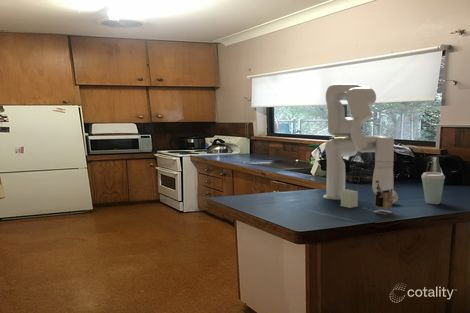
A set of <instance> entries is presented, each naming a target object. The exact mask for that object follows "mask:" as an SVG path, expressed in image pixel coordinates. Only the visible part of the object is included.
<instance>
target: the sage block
mask: <svg viewBox="0 0 470 313" xmlns="http://www.w3.org/2000/svg"><path fill="white" fill-rule="evenodd" d="M358 194H359V191H358V190H354V189H353V190H352V189H348V190H347V189H346V190H344V191H341V199H340V205H341V206H340V207H344V206H346V207H345V208H349V207H353V208H356V207H355V206H357V207H359V205H358V202H359V201H358V199H359V195H358Z"/></svg>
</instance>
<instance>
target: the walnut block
mask: <svg viewBox="0 0 470 313" xmlns="http://www.w3.org/2000/svg"><path fill="white" fill-rule="evenodd" d="M379 193H380V192H379ZM373 195H374V196H373V199H374V200H373V207H374V208H378V209H381V210H387V209H392V208H393V204H392V197H393V192H392V191H383V195H382V198H383V207H379V206H376V197H375V194H374V193H373Z"/></svg>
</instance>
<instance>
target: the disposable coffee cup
mask: <svg viewBox="0 0 470 313" xmlns="http://www.w3.org/2000/svg"><path fill="white" fill-rule="evenodd" d="M445 179H446V176H445V175H444V173H442V172H438V171H426V172H423V173H422V174H421V181H422V189H423V194H424V201H425V204H428V203H429V204H430V205H439V204H440V203H441V200H442V194H443V190H444V183H445Z"/></svg>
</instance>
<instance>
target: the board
mask: <svg viewBox="0 0 470 313" xmlns="http://www.w3.org/2000/svg"><path fill="white" fill-rule="evenodd" d="M339 206H340V207H342V206H341V204H340V205H339ZM343 207H345V208H347V207H346V206H343ZM356 207H358V206H355V207H348V208H349V209H352V208H356ZM365 209H366V210H368V211H369V212H370V211H372V212H373V213H375V214H379V215H384V216H385V215H389V214H392V213H394V212H393V211H391V210H386V209H377V210H374V211H373V210H372V209H368V208H366V207H362V210H365Z"/></svg>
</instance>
